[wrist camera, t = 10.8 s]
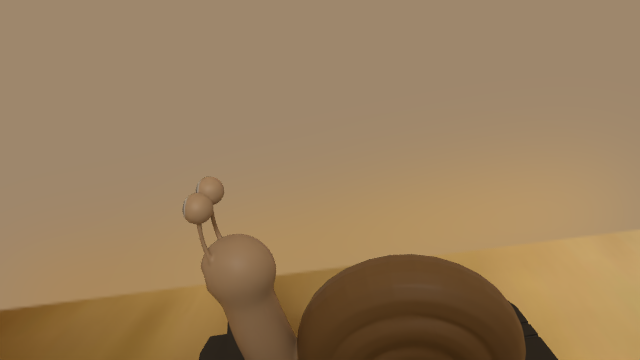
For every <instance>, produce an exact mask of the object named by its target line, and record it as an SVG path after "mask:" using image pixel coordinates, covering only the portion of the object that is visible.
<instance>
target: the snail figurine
mask: <svg viewBox="0 0 640 360" xmlns="http://www.w3.org/2000/svg"><path fill="white" fill-rule="evenodd" d="M223 195H224V187H223V185H222V183H221V182H220V181H219V180H218V179H217V178H214V177H204V178H203V179H201V180H200V181H199V183H198V185H197V188H196V193H194V194H191V195H189V196H188V197H187V198H186V200H185V201H184V204H183V215H184V217H185V219H186V220H187V221H188V222H190V223H193V224H197V228H198V233H199V237H200V241H201V244H202V247H203V250H204V253H205V254H204V257H203V259H202V263H201V269H202V272H203V274H204V277H205V281H206V286H207V289H208V291H209V292H210V293H211V294H212V295H213V296H214V297H215V298H216V299H217V301H218V302H219V303H220V304H221V306H222V307H223V309H224V311H225V314H226V316H227V319H228V322H229V325H230V328H231V331H232V334H233V336H234V339H235V341H236V343H237V345H238V347H239V349H240V351H241V353H242V355H243V357H244V359H245V360H525V356H526V346H525V340H524V334H523V329H522V326H521V323H520V321H519V319H518V317H517V315H516V313H515V310H514V309H513V307H512V306H511V304H510V303H509V302H508V301H507V299H506V298H505V297H504V296H503V295H502V293H501V292H500V291H499V290H498V289H497V288H496V287H495V286H494V285H493V284H491V283H490V282H489V281H488V280H486V279H485V278H484V277H482V276H481V275H479V274H478V273H476V272H474V271H472V270H470V269H468V268H466V267H464V266H462V265H460V264H457V263H454V262H451V261H447V260H444V259H441V258H437V257H431V256H423V255H412V254H411V255H410V254H407V255H389V256H384V257H379V258H374V259H369V260H366V261H364V262H361V263H359V264H356V265H354V266H351V267H349V268H346V269H345V270H343V271H342V272H340V273H338V274H337V275H335V276H334V277H332V278H331V279H329V280H328V281H327V282H326V283H325V284H324V285H323V286H322V287H321V288H320V289H319V290H318V291H317V292H316V293H315V294H314V296H313V297H312V299H311V301H310V302H309V304H308V306H307V307H306V309H305V311H304V313H303V316H302V319H301V323H300V326H299V330H298V338H297V337H296V336H295V334H294V332H293V330H292V328H291V326H290V324H289V322H288V320H287V318H286V316H285V314H284V312H283V310H282V308H281V306H280V303H279V301H278V299H277V297H276V294H275V292H274V281H275V276H276V265H275V261H274V258H273V256H272V254H271V252H270V250H269V249H268V248H267V247H266V246H265V245H264V244H263V243H262V242H261V241H259V240H258V239H256V238H254V237H251V236H249V235H244V234H232V235H228V236H225V237H222V236H221V234H220V232H219V230H218V227H217V224H216V221H215V217H214V212H213V205H214V204H216V203H218V202H219V201H220V200H221V199H222V197H223ZM210 217H211V220H212V224H213V227H214V230H215V233H216V236H217V238H218V240H217V241H216V242H214V243H213V244H212V245H211V246H210V247H209V248H207V246H206V244H205V241H204V237H203V233H202V226H201V223H204V222H206V221H207V220H208V219H209V218H210Z"/></svg>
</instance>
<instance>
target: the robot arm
mask: <svg viewBox="0 0 640 360" xmlns="http://www.w3.org/2000/svg"><path fill="white" fill-rule="evenodd" d="M508 302H509V301H508ZM509 303H510V302H509ZM510 304H511V306H512V307H513V309H514V310H515V313H516V315H517V317H518V319H519V321H520V323H521V326H522V329H523V334H524V340H525V346H526V356H525V360H558V359H557V358H556V356H555V355H554V354H553V353H552V351H551V350H550V349H549V347H548V346H547V345H546V344H545V342H544V341H543V340H542V339H541V337H538V334H537V332H536V331H535V330H534V328H533V327H532V326H531V325H529V324H528V321H527V320H526V318H525V317H524V316H523V314H522V313H521V312H520V311H519V309H518V308H517V307H516V306H515V305H513V304H512V303H510ZM199 360H245V359H244V357H243V355H242V353H241V351H240V349H239V347H238V345H237V343H236V341H235V339H234V336H233V334H232V331H231V328H230V325H229V322H228V329H227V334H224V335H217V336H210V338H209V339H208V341H207V343H206V344H205V346H204V348H203V349H202V351H201V353H200V357H199Z"/></svg>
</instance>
